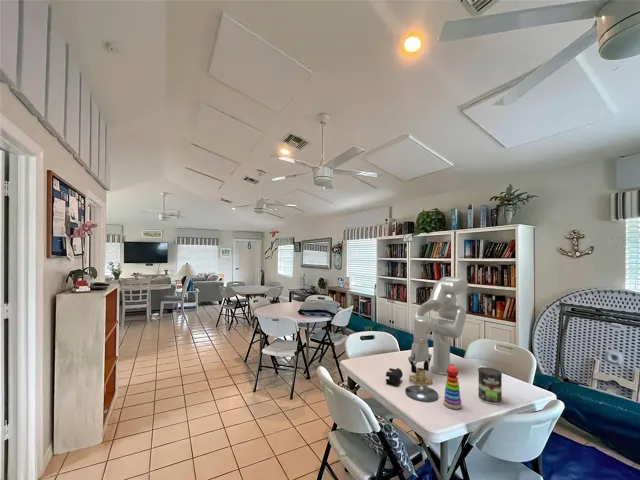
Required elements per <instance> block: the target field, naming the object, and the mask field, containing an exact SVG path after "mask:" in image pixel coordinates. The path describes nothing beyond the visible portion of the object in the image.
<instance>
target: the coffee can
mask: <svg viewBox="0 0 640 480" xmlns="http://www.w3.org/2000/svg"><path fill="white" fill-rule="evenodd" d="M477 370H478V371H477V372H478V396H477V397H478V399H479V400H480V401H482V402H483V403H485V404H489V405H493V406H494V405H497V406H498V405H501V404H502V403H503V401H502V398H503V397H502V396H503V395H502V393H503V392H502V389H503V388H502V385H503V383H502V382H503V381H502V380H503V379H502V377H503V376H502V375H503V373H502V372H501V371H500V370H498V369H496V368H492V367H484V366H481V367H478V369H477Z"/></svg>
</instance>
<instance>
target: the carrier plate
mask: <svg viewBox="0 0 640 480" xmlns="http://www.w3.org/2000/svg"><path fill="white" fill-rule="evenodd" d="M404 390H405V392H404V393H405V395H406V397H408V398H410V399H412V400H414V401H418V402H421V403H433V402H436V401H438V399H439V393H438V392H437V391H436V390H435V389H433V388H431V387H429V386H423V385H415V384H413V385H409V386H407V387H405V389H404Z"/></svg>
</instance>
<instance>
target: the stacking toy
mask: <svg viewBox="0 0 640 480" xmlns="http://www.w3.org/2000/svg"><path fill="white" fill-rule="evenodd" d="M458 369H459V368H457V367H456V365H455V366H448V367H447V374H448V375H446V381H445V382H446V384H445V388H444V392H443V393H444V399H443V404H444V406H445V407H447V408H449V409H451V410H460V409H461V408H462V405H463V404H462V399H461V392H460V383H459V378H458V375H459V370H458Z"/></svg>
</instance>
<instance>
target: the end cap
mask: <svg viewBox="0 0 640 480" xmlns="http://www.w3.org/2000/svg"><path fill="white" fill-rule="evenodd" d="M403 374H404V373H403V371H402V369H401V368H399V367H397V368H391V367H390V368H389V369H388V371H386V372H385V377H387V378H385V381H386V385H387V386H393V387H394V386H397V385H398V384H399V383H400V381H401V379H402V377H403Z"/></svg>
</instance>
